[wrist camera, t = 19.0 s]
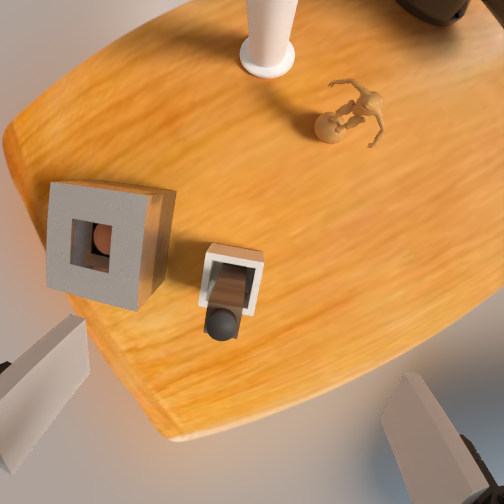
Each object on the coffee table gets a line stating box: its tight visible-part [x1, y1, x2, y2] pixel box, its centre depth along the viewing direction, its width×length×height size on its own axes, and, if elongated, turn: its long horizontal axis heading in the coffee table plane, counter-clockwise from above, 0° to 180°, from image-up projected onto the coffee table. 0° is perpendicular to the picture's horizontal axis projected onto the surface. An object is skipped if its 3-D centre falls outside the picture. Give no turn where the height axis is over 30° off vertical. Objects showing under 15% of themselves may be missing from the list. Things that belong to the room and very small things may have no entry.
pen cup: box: [198, 243, 264, 316], centre depth 39 cm, size 7×7×6 cm
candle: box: [240, 0, 298, 78], centre depth 23 cm, size 7×7×25 cm
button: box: [94, 224, 112, 255], centre depth 37 cm, size 4×4×6 cm
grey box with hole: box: [46, 180, 177, 311], centre depth 35 cm, size 12×12×11 cm
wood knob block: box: [204, 262, 247, 341], centre depth 33 cm, size 3×3×16 cm
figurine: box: [314, 78, 386, 148], centre depth 31 cm, size 8×6×12 cm
